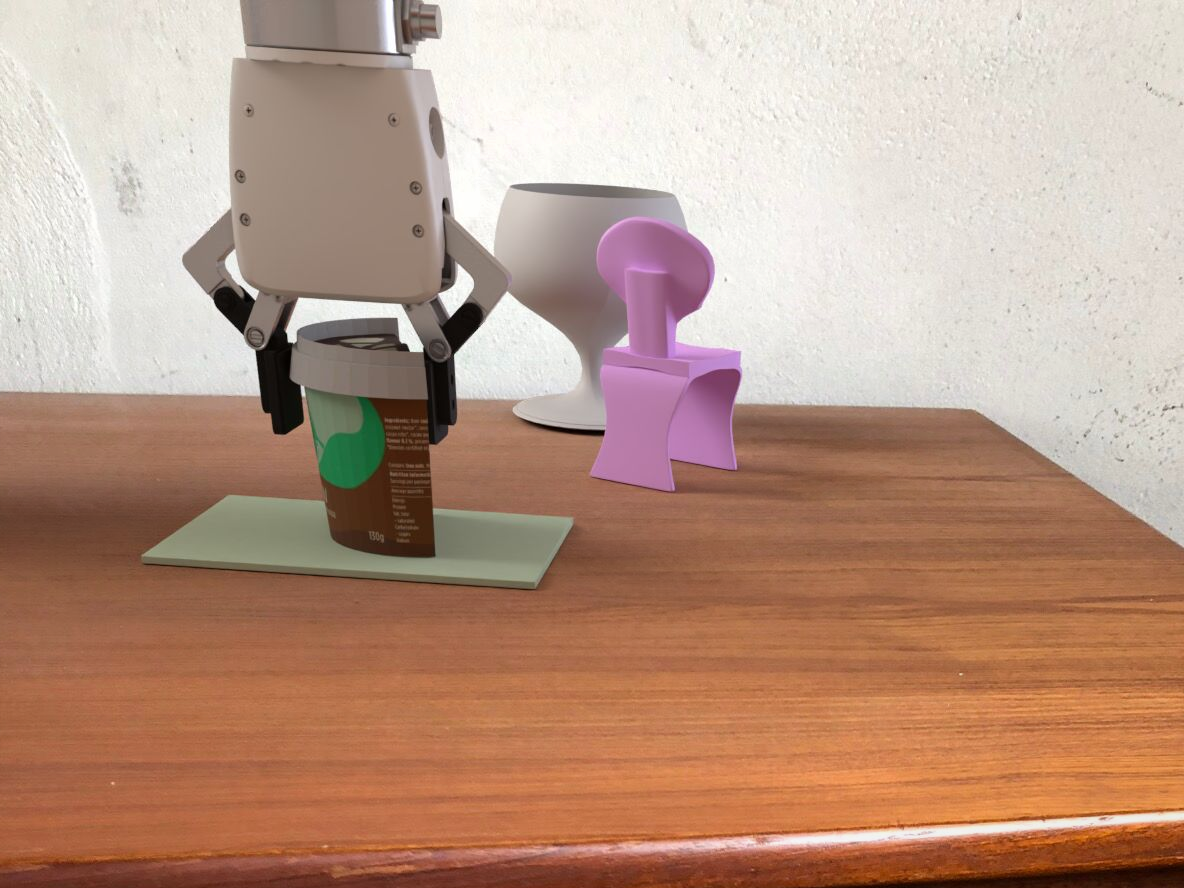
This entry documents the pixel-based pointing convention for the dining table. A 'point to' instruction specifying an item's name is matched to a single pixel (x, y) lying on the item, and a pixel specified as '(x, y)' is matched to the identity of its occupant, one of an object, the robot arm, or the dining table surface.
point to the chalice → (571, 278)
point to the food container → (369, 433)
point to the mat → (304, 546)
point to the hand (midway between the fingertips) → (362, 431)
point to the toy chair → (662, 360)
